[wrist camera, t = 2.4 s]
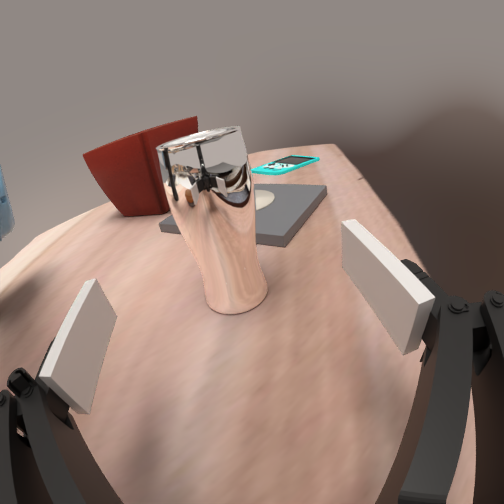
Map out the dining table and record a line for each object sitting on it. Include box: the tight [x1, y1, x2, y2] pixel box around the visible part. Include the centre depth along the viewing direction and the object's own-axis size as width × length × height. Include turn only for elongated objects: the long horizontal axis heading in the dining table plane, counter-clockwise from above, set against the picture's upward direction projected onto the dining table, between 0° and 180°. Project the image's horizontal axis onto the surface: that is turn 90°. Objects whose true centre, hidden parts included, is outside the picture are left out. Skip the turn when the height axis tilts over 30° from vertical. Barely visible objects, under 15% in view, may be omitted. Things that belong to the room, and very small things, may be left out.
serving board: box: [159, 184, 327, 247], centre depth 44 cm, size 22×18×2 cm
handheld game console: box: [251, 155, 320, 175], centre depth 66 cm, size 10×16×1 cm, turn 131°
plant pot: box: [83, 116, 198, 216], centre depth 53 cm, size 19×19×17 cm
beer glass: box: [156, 126, 268, 314], centre depth 23 cm, size 7×7×15 cm
